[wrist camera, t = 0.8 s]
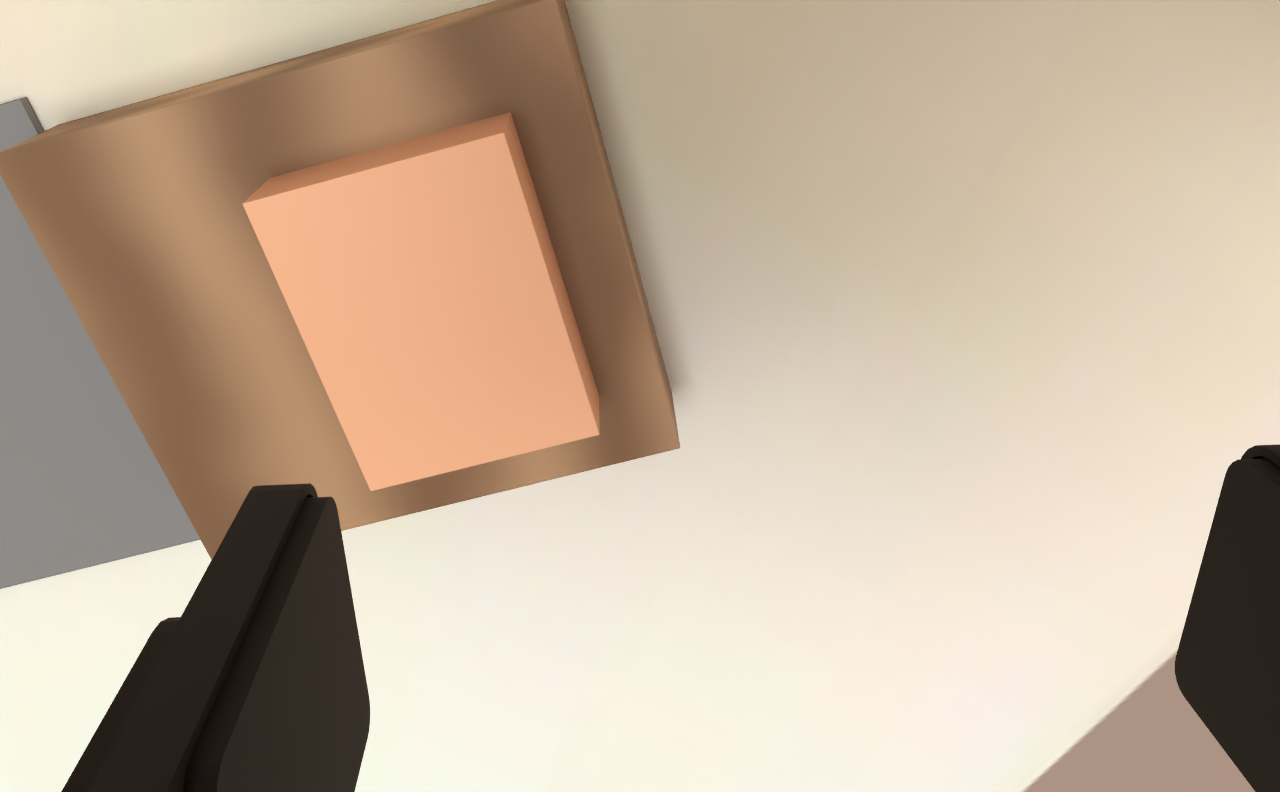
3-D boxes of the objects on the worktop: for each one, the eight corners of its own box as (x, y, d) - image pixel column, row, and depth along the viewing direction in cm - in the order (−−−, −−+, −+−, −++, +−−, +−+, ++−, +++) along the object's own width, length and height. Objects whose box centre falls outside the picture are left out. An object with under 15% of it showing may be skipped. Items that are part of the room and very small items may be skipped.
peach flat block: (510, 112, 28) (503, 132, 26) (598, 396, 32) (599, 434, 30) (269, 177, 29) (242, 203, 27) (386, 449, 33) (370, 491, 31)
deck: (559, -18, 31) (555, -3, 27) (671, 392, 37) (679, 448, 33) (57, 125, 32) (-10, 157, 28) (248, 497, 38) (213, 562, 34)
